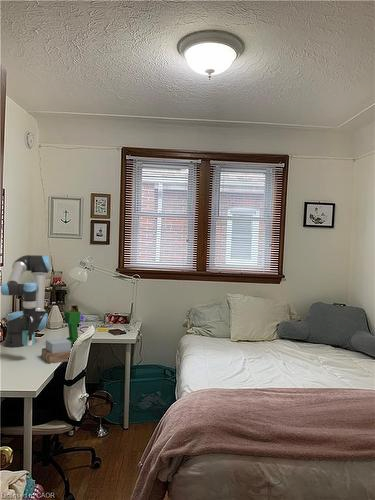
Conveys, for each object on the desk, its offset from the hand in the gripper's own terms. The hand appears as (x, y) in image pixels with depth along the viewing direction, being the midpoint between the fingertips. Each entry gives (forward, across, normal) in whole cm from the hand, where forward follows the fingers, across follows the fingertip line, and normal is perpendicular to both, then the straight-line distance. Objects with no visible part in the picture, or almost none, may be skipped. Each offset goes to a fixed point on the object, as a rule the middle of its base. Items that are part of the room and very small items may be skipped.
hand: (28, 343), depth 244 cm
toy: (+11, -12, +35) cm, 39 cm away
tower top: (+5, +6, +17) cm, 19 cm away
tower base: (+11, +6, +17) cm, 21 cm away
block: (0, 0, 0) cm, 0 cm away
